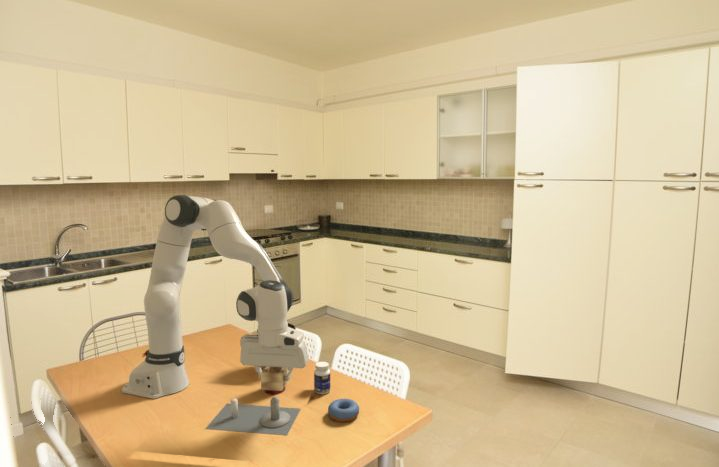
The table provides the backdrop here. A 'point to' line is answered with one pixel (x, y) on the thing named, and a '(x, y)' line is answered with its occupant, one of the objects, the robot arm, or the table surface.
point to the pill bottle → (322, 378)
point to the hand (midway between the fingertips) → (274, 379)
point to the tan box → (273, 378)
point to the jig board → (255, 418)
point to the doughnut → (343, 410)
